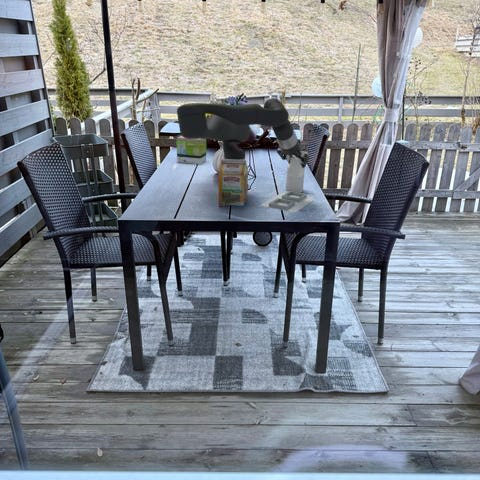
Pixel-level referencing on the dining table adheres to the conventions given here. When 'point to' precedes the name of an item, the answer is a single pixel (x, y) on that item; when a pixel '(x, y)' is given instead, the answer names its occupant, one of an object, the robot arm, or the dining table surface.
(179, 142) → the tea box
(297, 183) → the pill bottle
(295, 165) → the plug
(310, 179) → the dining table surface
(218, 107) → the robot arm
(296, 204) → the panel
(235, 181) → the milk carton
